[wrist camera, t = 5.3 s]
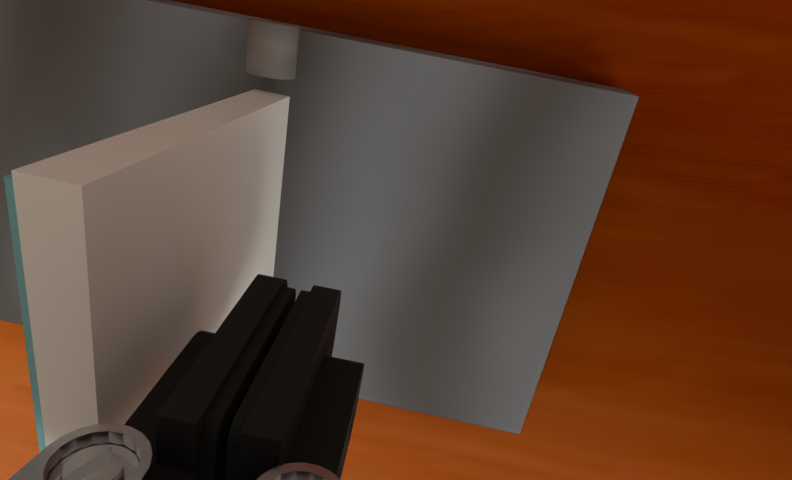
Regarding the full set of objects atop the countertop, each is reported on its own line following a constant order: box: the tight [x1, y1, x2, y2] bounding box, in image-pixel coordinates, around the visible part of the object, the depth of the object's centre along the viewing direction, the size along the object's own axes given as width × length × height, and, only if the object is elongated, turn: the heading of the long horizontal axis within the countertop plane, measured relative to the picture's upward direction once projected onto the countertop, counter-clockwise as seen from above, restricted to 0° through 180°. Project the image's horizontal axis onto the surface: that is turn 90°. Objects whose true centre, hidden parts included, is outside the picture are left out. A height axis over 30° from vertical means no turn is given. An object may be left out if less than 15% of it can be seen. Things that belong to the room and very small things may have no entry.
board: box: [0, 0, 639, 434], centre depth 16 cm, size 18×11×3 cm, turn 80°
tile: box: [4, 89, 290, 452], centre depth 12 cm, size 8×8×1 cm
